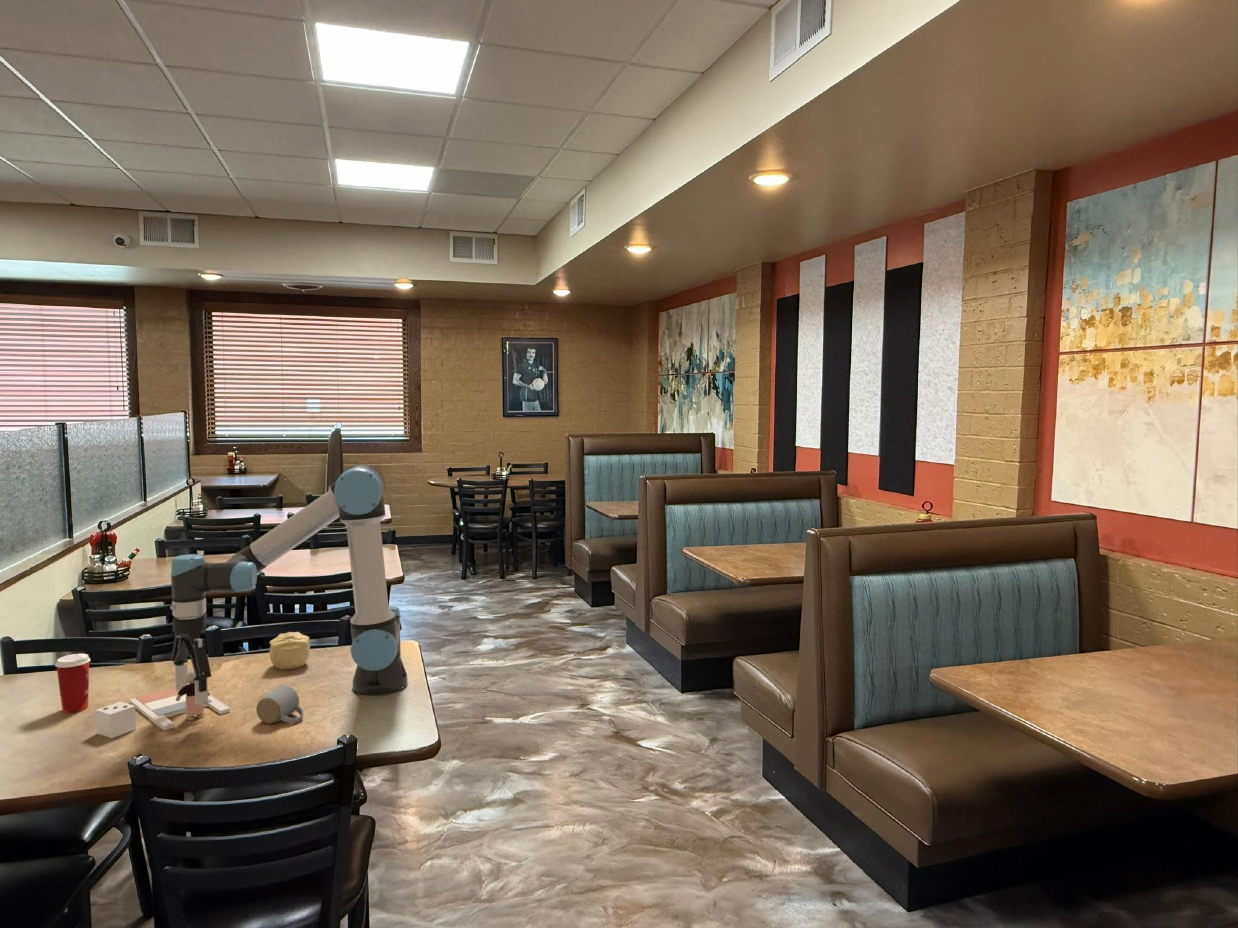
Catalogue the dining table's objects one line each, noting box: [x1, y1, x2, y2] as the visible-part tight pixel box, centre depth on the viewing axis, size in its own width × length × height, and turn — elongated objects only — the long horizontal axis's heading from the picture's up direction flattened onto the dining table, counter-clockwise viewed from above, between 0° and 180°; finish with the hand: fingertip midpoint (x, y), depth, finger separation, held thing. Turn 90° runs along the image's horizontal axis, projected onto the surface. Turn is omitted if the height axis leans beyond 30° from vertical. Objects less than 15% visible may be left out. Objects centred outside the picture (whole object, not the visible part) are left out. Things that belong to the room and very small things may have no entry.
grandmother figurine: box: [176, 669, 211, 721], centre depth 202 cm, size 8×4×13 cm, turn 135°
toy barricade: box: [129, 687, 231, 731], centre depth 209 cm, size 26×16×1 cm, turn 48°
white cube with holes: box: [95, 701, 137, 739], centre depth 194 cm, size 6×6×6 cm
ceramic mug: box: [255, 684, 304, 725], centre depth 201 cm, size 11×8×8 cm
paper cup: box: [54, 653, 91, 714], centre depth 207 cm, size 8×8×14 cm
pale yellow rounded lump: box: [269, 631, 311, 670], centre depth 241 cm, size 12×12×11 cm
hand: (191, 696), depth 202 cm, fingers open, 13 cm apart
